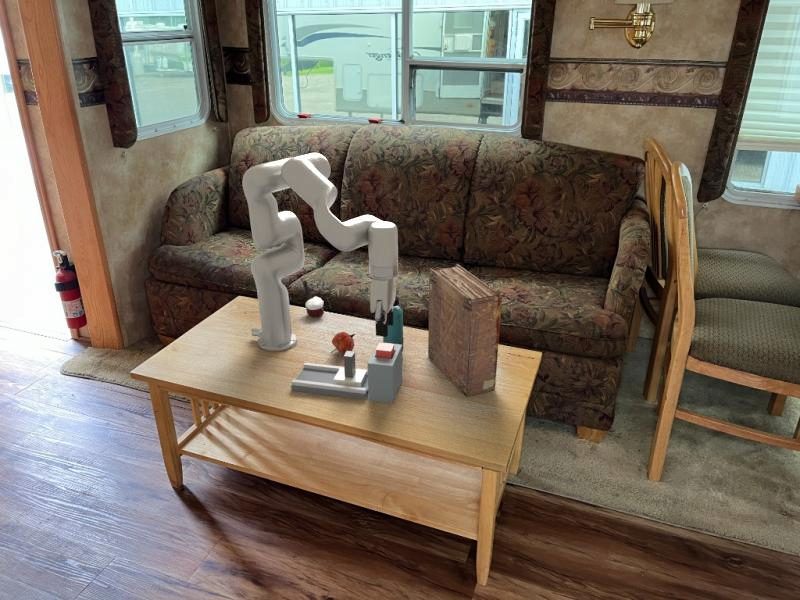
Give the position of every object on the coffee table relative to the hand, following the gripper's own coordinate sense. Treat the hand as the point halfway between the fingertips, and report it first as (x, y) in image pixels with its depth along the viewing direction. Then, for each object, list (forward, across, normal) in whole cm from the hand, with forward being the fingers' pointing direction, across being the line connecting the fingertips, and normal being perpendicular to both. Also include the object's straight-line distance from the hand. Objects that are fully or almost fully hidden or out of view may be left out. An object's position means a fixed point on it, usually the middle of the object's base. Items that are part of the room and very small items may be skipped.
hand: (384, 329), depth 170 cm
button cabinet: (+20, 0, 0) cm, 20 cm away
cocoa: (+20, -42, -36) cm, 59 cm away
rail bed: (+20, 0, -16) cm, 25 cm away
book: (+20, -14, +20) cm, 31 cm away
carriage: (+18, 0, -10) cm, 21 cm away
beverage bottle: (+20, -20, -2) cm, 28 cm away
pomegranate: (+20, -18, -18) cm, 33 cm away
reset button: (+9, 0, 0) cm, 9 cm away
